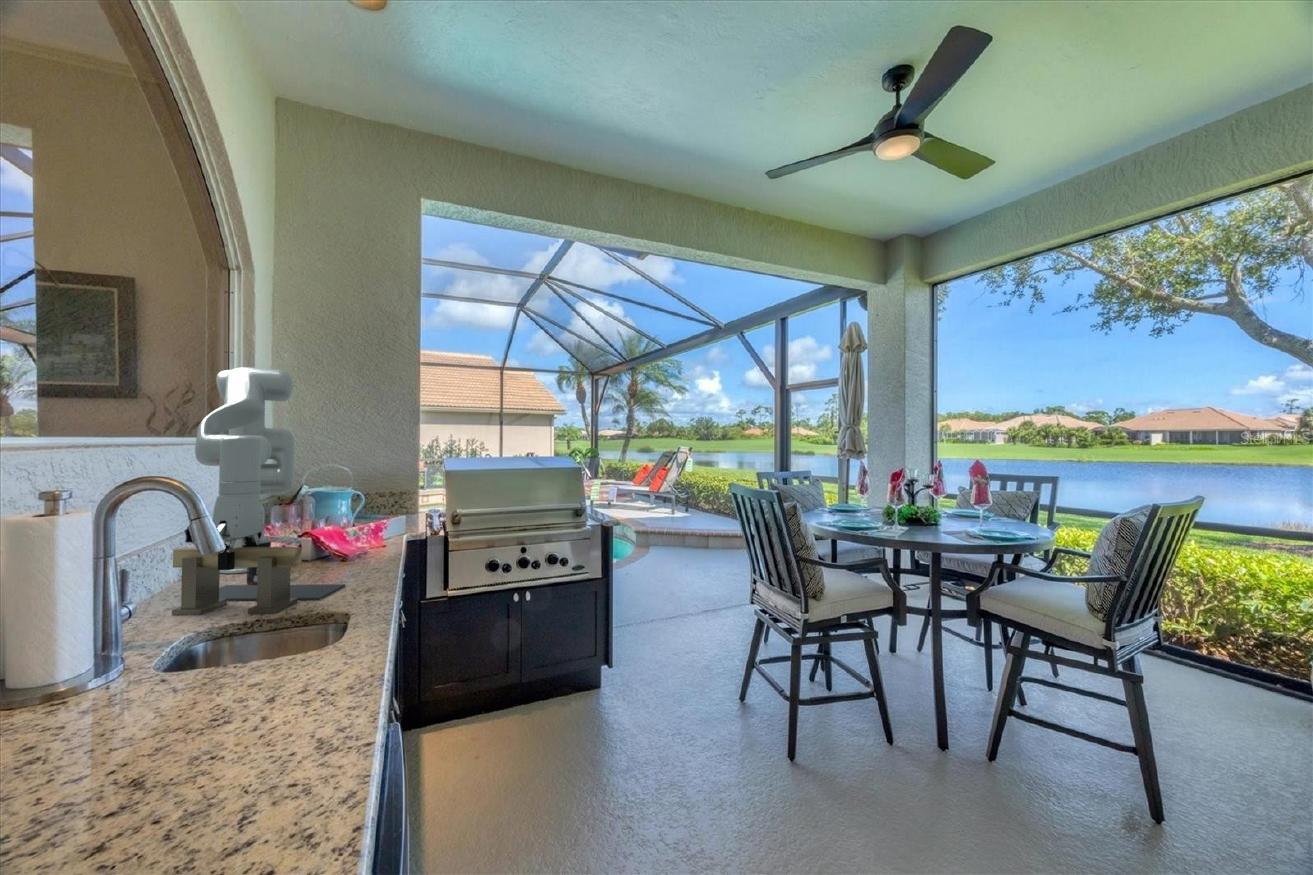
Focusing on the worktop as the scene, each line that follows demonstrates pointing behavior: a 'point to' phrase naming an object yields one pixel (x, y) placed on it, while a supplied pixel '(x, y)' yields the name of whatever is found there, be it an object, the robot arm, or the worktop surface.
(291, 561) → the rail
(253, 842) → the worktop surface
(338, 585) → the mat
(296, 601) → the rail stands
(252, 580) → the supplement bottle
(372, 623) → the worktop surface
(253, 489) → the robot arm
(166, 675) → the worktop surface
